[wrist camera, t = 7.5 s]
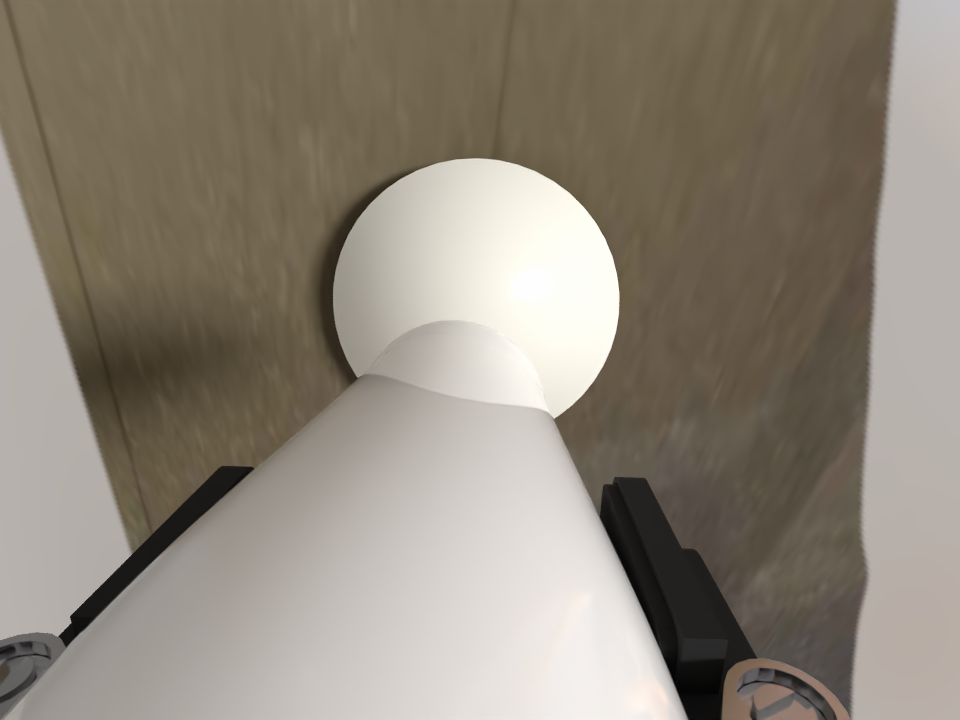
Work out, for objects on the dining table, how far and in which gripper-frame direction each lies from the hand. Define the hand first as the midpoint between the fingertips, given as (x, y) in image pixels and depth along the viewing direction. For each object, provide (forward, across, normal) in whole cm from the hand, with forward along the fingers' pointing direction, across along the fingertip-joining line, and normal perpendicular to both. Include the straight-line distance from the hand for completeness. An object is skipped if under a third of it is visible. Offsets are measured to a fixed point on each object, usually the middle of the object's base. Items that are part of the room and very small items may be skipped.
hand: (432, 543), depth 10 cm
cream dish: (+23, 0, 0) cm, 23 cm away
